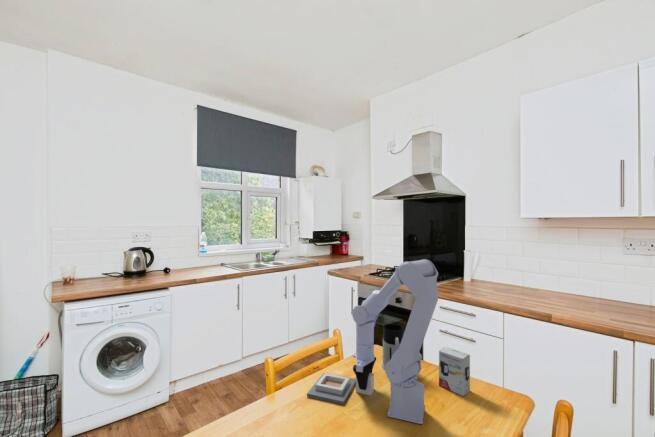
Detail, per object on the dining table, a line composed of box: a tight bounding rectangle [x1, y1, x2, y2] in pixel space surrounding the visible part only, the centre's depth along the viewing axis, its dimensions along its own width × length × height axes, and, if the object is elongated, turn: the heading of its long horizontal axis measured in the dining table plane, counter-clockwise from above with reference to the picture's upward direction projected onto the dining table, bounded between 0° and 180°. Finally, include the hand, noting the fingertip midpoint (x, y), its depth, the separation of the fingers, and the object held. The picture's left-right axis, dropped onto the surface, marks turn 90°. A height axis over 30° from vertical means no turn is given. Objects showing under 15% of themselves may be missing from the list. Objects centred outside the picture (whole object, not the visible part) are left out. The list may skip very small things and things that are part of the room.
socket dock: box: [306, 372, 356, 406], centre depth 98 cm, size 12×14×2 cm
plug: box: [355, 372, 375, 396], centre depth 97 cm, size 5×4×6 cm
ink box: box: [438, 346, 471, 397], centre depth 99 cm, size 9×5×12 cm, turn 42°
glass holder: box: [381, 323, 404, 371], centre depth 111 cm, size 9×14×15 cm, turn 178°
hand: (365, 384), depth 97 cm, fingers open, 5 cm apart
